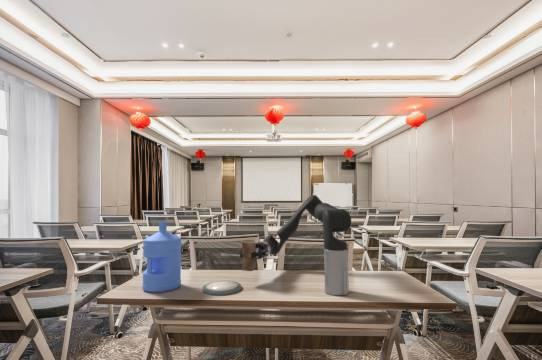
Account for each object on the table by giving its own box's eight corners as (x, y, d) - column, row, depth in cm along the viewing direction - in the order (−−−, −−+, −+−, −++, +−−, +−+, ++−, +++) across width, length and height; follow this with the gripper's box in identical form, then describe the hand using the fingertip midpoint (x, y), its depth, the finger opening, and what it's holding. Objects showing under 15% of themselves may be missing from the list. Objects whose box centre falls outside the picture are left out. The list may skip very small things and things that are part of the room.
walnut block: (255, 268, 134) (255, 241, 134) (251, 271, 129) (251, 243, 130) (246, 268, 135) (246, 241, 136) (242, 270, 131) (242, 242, 132)
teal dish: (247, 285, 130) (247, 282, 130) (230, 297, 115) (230, 293, 115) (215, 282, 136) (215, 279, 136) (194, 292, 121) (194, 289, 121)
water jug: (164, 280, 139) (165, 220, 141) (188, 285, 131) (189, 221, 133) (134, 289, 126) (135, 222, 128) (158, 295, 118) (160, 224, 120)
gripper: (247, 241, 149) (231, 246, 133) (274, 242, 144) (261, 247, 128) (247, 256, 148) (231, 263, 132) (274, 258, 143) (261, 265, 127)
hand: (246, 255), depth 130 cm, fingers closed on walnut block, 4 cm apart
